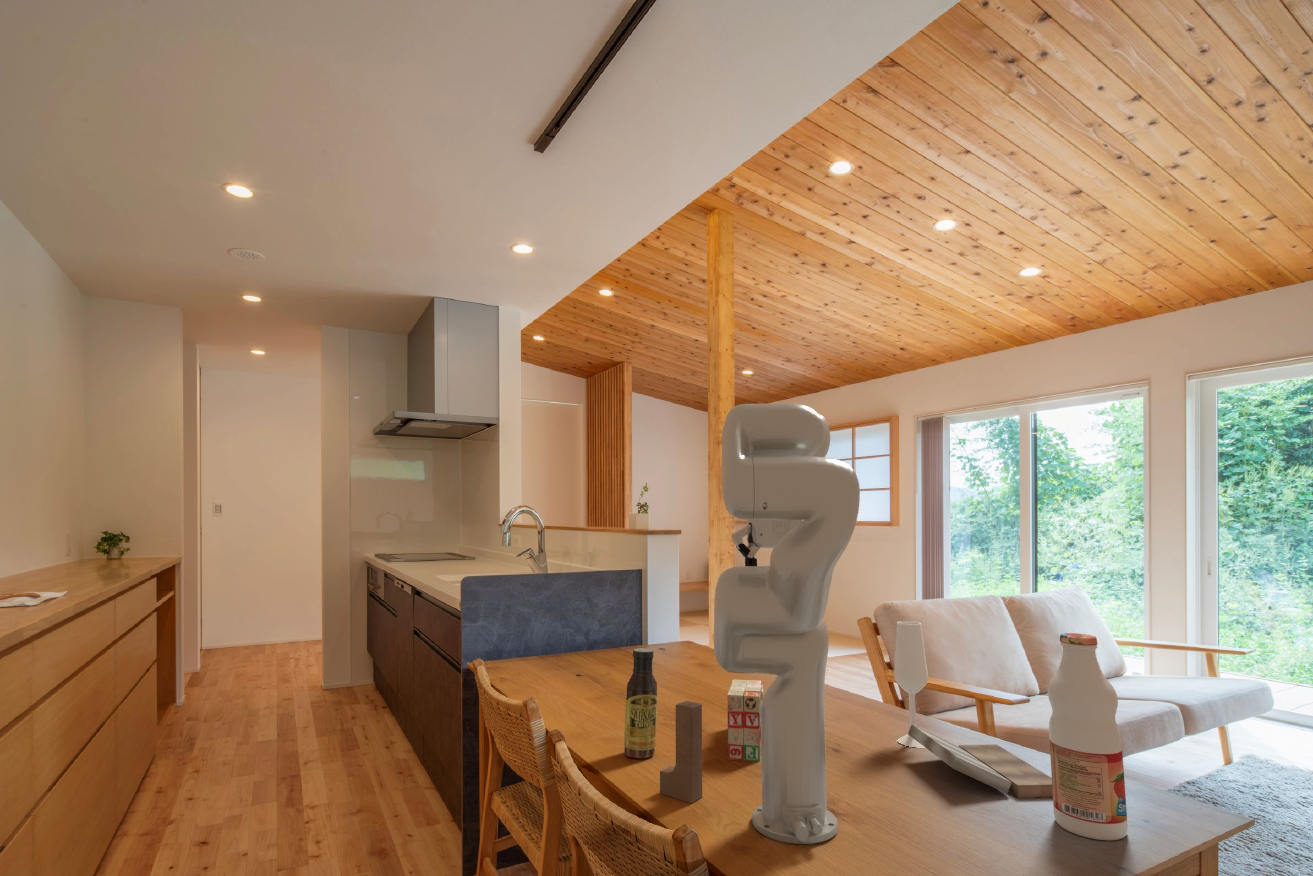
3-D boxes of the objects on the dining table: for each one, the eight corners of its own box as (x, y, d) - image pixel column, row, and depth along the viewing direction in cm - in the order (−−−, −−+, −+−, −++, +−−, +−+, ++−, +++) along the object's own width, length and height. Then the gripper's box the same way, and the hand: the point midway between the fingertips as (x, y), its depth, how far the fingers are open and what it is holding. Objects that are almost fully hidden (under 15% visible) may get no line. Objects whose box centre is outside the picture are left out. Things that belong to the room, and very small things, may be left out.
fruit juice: (1044, 812, 109) (1033, 629, 112) (1109, 816, 107) (1096, 631, 110) (1069, 839, 99) (1057, 640, 102) (1141, 844, 98) (1127, 641, 101)
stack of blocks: (736, 726, 153) (735, 669, 154) (764, 728, 151) (763, 670, 153) (727, 760, 132) (727, 693, 133) (760, 762, 130) (759, 695, 132)
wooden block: (702, 797, 114) (702, 703, 116) (691, 804, 111) (691, 707, 113) (670, 788, 118) (670, 697, 120) (659, 794, 115) (659, 701, 117)
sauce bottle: (627, 762, 130) (628, 653, 133) (620, 751, 136) (621, 647, 139) (661, 758, 132) (661, 651, 134) (652, 748, 138) (652, 646, 140)
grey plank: (1007, 794, 115) (1011, 782, 115) (952, 768, 115) (957, 757, 115) (954, 756, 133) (958, 746, 133) (907, 734, 133) (911, 724, 133)
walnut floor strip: (1063, 797, 114) (1062, 784, 115) (1018, 798, 114) (1018, 785, 114) (997, 755, 134) (996, 744, 134) (959, 755, 134) (958, 745, 134)
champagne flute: (900, 735, 146) (895, 619, 149) (933, 741, 143) (928, 622, 145) (893, 744, 140) (888, 623, 143) (928, 750, 137) (923, 626, 139)
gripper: (740, 487, 127) (741, 582, 125) (823, 487, 132) (825, 579, 130) (724, 488, 134) (725, 578, 132) (803, 489, 139) (805, 575, 137)
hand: (775, 578), depth 131 cm, fingers open, 9 cm apart
